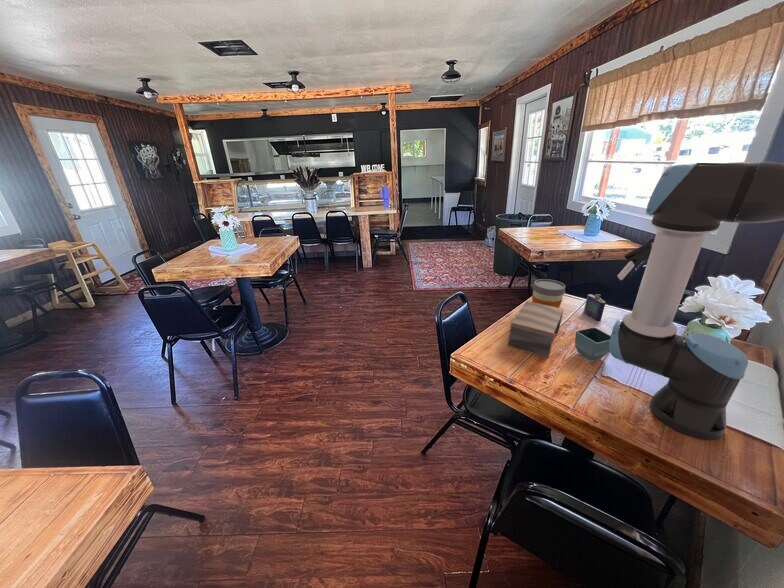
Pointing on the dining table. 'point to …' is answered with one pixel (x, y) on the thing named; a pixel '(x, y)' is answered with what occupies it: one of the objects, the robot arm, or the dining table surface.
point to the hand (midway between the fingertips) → (638, 285)
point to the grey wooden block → (535, 328)
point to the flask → (594, 307)
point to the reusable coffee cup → (548, 292)
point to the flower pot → (592, 343)
